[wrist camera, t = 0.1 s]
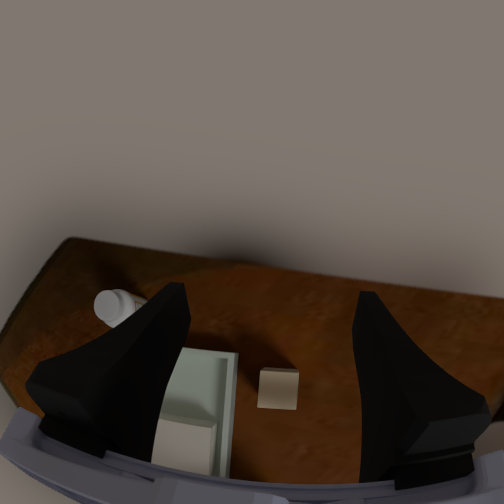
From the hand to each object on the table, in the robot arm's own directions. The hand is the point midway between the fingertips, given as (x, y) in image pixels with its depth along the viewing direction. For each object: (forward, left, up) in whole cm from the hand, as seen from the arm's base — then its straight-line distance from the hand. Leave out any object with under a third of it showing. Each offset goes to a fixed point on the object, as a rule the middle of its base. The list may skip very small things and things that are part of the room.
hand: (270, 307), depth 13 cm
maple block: (-7, 0, -32) cm, 33 cm away
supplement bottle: (+1, +22, -32) cm, 39 cm away
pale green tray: (-13, +13, -32) cm, 37 cm away
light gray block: (-17, +13, -31) cm, 38 cm away
